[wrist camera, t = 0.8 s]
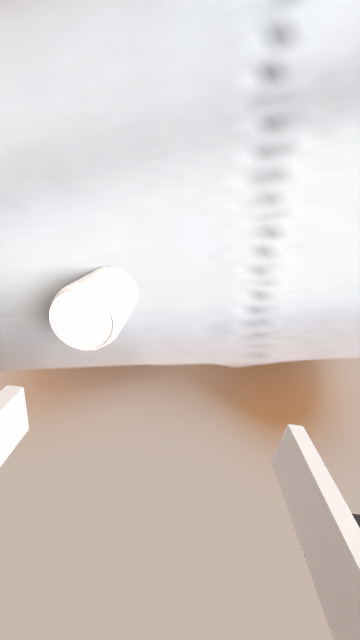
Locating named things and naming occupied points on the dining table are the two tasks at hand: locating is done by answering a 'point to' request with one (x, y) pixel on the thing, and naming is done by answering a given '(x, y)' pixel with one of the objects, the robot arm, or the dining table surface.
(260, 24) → the dining table surface
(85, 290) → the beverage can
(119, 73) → the dining table surface
